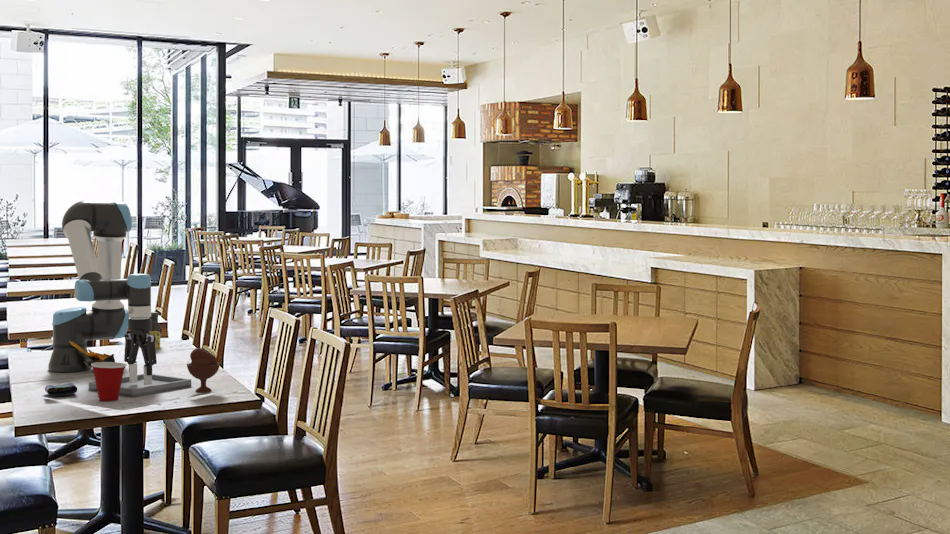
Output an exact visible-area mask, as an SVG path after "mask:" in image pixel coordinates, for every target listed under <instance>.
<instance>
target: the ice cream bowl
mask: <svg viewBox="0 0 950 534" xmlns="http://www.w3.org/2000/svg"><path fill="white" fill-rule="evenodd" d="M189 357H190V360H191V362H190V363H186V368H187V370H188V373H189V374H190V375H191V376H192V377H193V378H195V379H197V380H199V381H200V387H197V388H196V389H195V391H194V392H195V393H198V394H203V393H211V392H212V388H210V387H209V386H207V381H208V380H209V379H211V378H212V377H214V376H215V375H216V374H217V373H218V371H219V370H220V365H221V364H220V362H218V361H217V357H216V355H214V354H213V353H212V352H210V351H207V350H206V349H205V348H203V347H196V348H194V349H193V350H192V351H191V353H190V356H189Z"/></svg>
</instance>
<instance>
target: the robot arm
mask: <svg viewBox="0 0 950 534" xmlns="http://www.w3.org/2000/svg"><path fill="white" fill-rule="evenodd" d="M132 223H133V221H132V215H131V210H130V208H129V206H128V204H126V203H125V202H123V201H119V200H80V201H77V202H76V203H74V204H72V205H71V206H70V207H69V208H68V209H67V210H66V211H65V213H64V214H63V218H62V222H61V228H62V233H63V235H64V236H65V238H67V239H68V245H69V247H70V251H71V255H72V258H73V262H74V267H75V270H76V274H77V278H78V279H77V280H76V281H75V283H74V296H75V299H76V301H78V302H93V304H91V310H89V309H88V310H87V308H86V307H85V306H78V307H69V308H64V309H60V310H57V311H55V312H54V313H53V315H52V323H51V324H52V348H53V349H52V353H51V356H50V359H49V363H48V367H47V368H48V369H47V370H48V371H49V372H53V373H71V372H72V373H73V372H81V371H82V372H83V371H87V370H88V371H89V370H91V369H93V368H92V367H90V366H89V365H87V364H86V363H84V361H85V359H84V358H83V352H81V351H80V350H78V349H77V348H76V347H74V346H72V345H71V344H70V342H69V341H70V340H72V341H74V343H76V344H77V345H78V346H80V347H81V348H82V349H84V350H85V351H86V352H88V353H89V350H88V347H87V346H88V345H87V344H88V343H87V342H88V341H100V340H102V341H103V340H116V339H122V338H123V337H124V339H125V342H124V355H123V356H124V361H123V362H125V363H126V364H128V373H129V374H128V375H129V383H135V382H137V381H138V380H137V375H138V361H137V357H138V352H139V348H140V350H141V352H142V353H141V354H142V357H143V361H144V364H143V374H144V379H143V380H144V385H150V384H152V380H153V379H152V374H153V366H154V365H156V364H157V363H158V362H157V353H156V352H157V348H156V349H155V338H156V337H155V336H151V335H150V334H149V329H151V319H150V318H149V317H151V312H152V294H151V293H152V281H151V275H150V274H149V273H131V274H128V275H127V277H126V278H122V244H123V243H122V242H123V240H124V239H125V238H126V237H127V233H129V232H130V231H131V230H132V226H133V225H132ZM91 232H93V237H94V238H95V239H96V240H97V254H96V250H95V247H94V244H93V243H94V242H93V240H92V237H91ZM122 300H123V301H124V300H127V306H128V307H127V308H128V309H127V308H125V305H124V303H123V302H122ZM128 330H129V331H130V333H127V332H128Z"/></svg>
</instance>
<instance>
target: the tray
mask: <svg viewBox="0 0 950 534" xmlns="http://www.w3.org/2000/svg"><path fill="white" fill-rule="evenodd" d="M190 386H191V387H192V378H191V379H190V378H183V377H176V376H169V375H168V376H167V375H161V374H154V373H152V384H150V385H144V373H141V374H137V382H135V383H129V376H124V377H123V376H122V382H121V388H120V392H119V396H124V397H129V398H130V397H131V398H134V397H135V398H136V397H140V396H142V397H143V396H148V395H152V394H159V393H163V392H168V391H174V390H179V389H185V387H186V388H190ZM88 391H92V392H97V388H96V382H95V381H92V382H88Z"/></svg>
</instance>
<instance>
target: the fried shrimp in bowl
mask: <svg viewBox="0 0 950 534" xmlns="http://www.w3.org/2000/svg"><path fill="white" fill-rule="evenodd" d="M69 342H70V344H71V345H72V346H74V347H76V348H77V349H78V350H80V351H81V352H83V358H84V359H85V361H84V363H86V364H87V365H89V366H90V367H92V366H91V364H92V363H96V362H116V359H115V354H114V353H112V354H107V353H103V354H102V353H98V352H94V351H92V350H90V349H88V348H87V351H88V352H86V351H85V350H84V349H82V348H81V347H80V346H78V345H77V344H76V343H74V341H72V340H70V341H69Z"/></svg>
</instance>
